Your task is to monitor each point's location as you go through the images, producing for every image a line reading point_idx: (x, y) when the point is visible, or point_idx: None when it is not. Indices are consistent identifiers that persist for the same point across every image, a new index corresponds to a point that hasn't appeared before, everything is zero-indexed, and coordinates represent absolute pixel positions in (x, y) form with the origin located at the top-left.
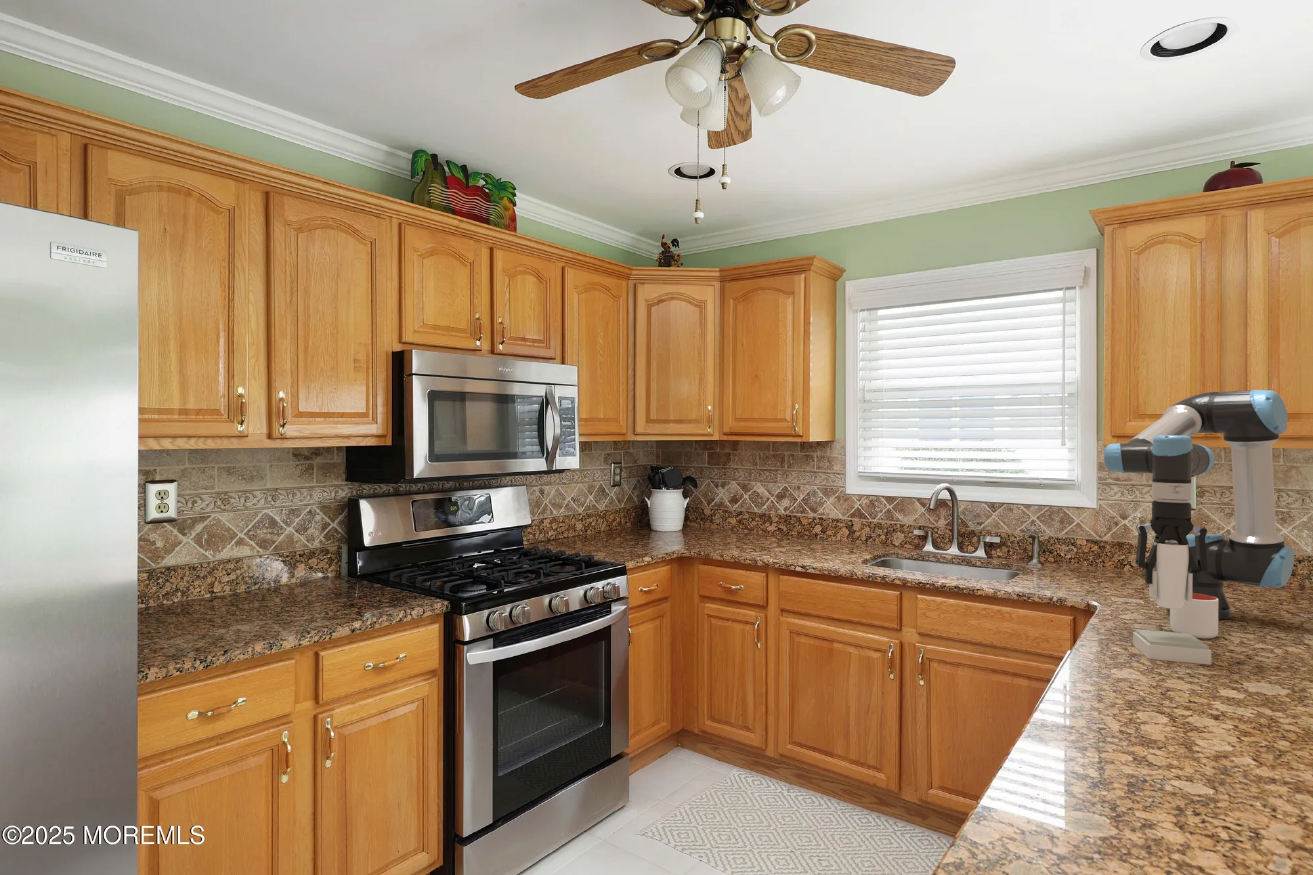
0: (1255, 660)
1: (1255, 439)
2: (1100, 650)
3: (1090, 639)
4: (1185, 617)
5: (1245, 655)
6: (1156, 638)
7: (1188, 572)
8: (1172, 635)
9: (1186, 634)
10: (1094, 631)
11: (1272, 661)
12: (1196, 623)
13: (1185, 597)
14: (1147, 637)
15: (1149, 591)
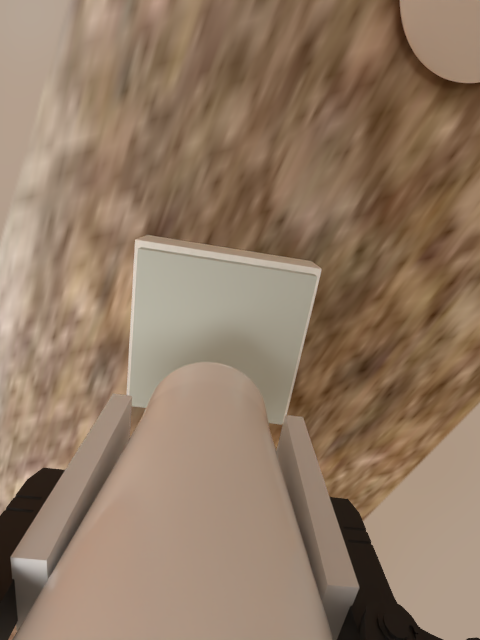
0: (432, 334)
1: None
2: (26, 325)
3: (20, 187)
4: (456, 16)
5: (444, 287)
6: (162, 370)
7: (332, 621)
8: (237, 318)
9: (297, 292)
10: (62, 32)
11: (474, 334)
12: (473, 59)
13: (283, 440)
14: (137, 364)
15: (101, 414)
